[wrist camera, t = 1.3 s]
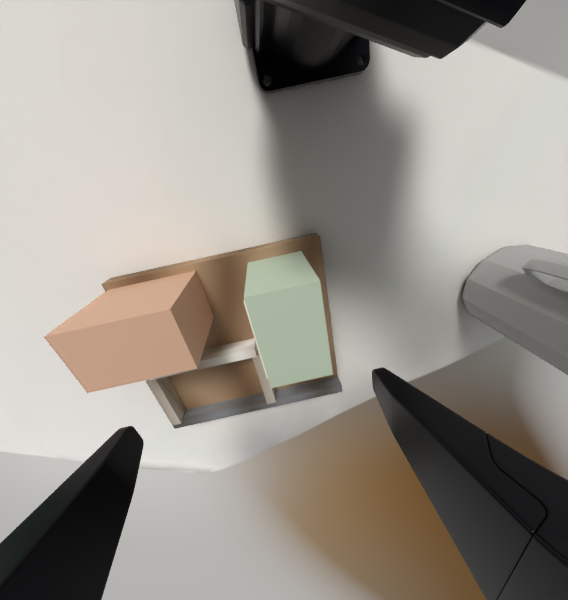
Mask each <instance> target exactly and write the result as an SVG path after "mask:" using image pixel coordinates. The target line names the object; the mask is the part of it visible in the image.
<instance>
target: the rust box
mask: <svg viewBox="0 0 568 600" xmlns="http://www.w3.org/2000/svg"><path fill="white" fill-rule="evenodd" d="M213 318H214V316H213V313H212V311H211V308H210V306H209V303H208V300H207V298H206V295H205V292H204V290H203V287H202V284H201V282H200V279H199V276H198V274H197V271H192V272H187V273H182V274H178V275H173V276H169V277H164V278H160V279H155V280H151V281H146V282H141V283H137V284H132V285H128V286H123V287H119V288H114V289H110V290H107V291H106V292H105V293H103V294H102V295H101V296H99V297H98V298H96V299H95V300H94V301H92V302H91V303H90V304H88V305H87V306H86V307H84V308H83V309H81V310H80V311H79V312H77V313H76V314H75V315H73V316H72V317H70V318H69V319H68V320H66V321H65V322H64V323H62V324H61V325H60V326H58V327H57V328H55V329H54V330H53V331H51V332H50V333H49V334H47V335H46V336H44V338H45V339H46V340H47V341H48V343H49V344H50V345H51V347H52V348H53V349H54V350H55V352H56V353H57V354H58V356H59V357H60V358H61V359H62V361H63V362H64V363H65V365H66V366H67V367H68V368H69V370H70V371H71V372H72V374H73V375H74V376H75V377H76V379H77V380H78V381H79V383H80V384H81V385H82V386H83V388H84V389H85V390H86V392H87V393H89V392H93V391H98V390H103V389H107V388H112V387H116V386H121V385H125V384H130V383H134V382H139V381H143V380H148V379H152V378H157V377H161V376H166V375H170V374H175V373H179V372H184V371H188V370H193V369H197V368H198V365H199V362H200V359H201V356H202V353H203V350H204V346H205V343H206V340H207V337H208V334H209V331H210V328H211V324H212V321H213Z"/></svg>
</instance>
